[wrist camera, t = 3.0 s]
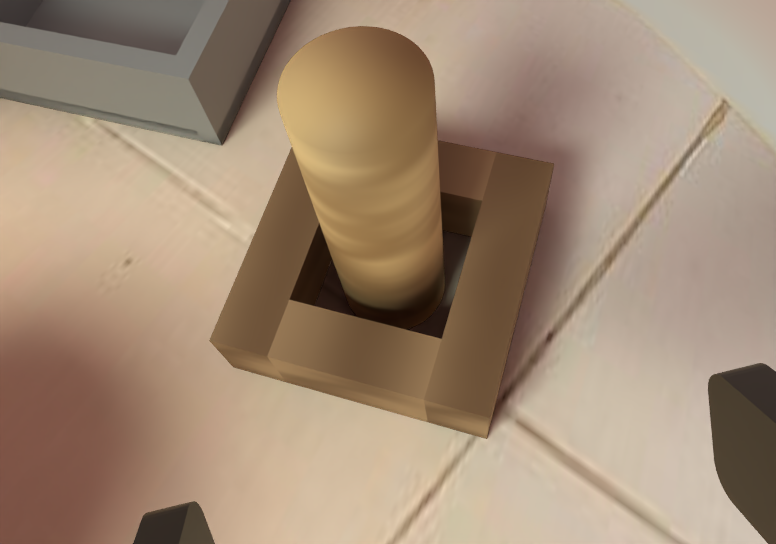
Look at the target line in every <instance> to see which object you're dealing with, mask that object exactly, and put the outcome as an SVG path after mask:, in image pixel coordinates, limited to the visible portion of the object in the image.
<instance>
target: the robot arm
mask: <svg viewBox="0 0 776 544" xmlns="http://www.w3.org/2000/svg"><path fill="white" fill-rule="evenodd" d="M708 394H709V406H710V417H711V429H712V440H713V452H714V461H715V467H716V471H717V474H718V477H719V480H720V482H721V484H722V486H723V489H724V490H725V492H726V494H727V496H728V497H729V499H730V500H731V501H732V503H733V504H734V505H735V506H736V507H737V508H738V510H739V511H740V512H741V513H742V514H743V515H744V517H745V518H746V519H747V520H748V521H749V522H750V523H751V525H752V526H753V527H754V528H755V529H756V530H757V531H758V533H759V534H760V535H761V536H762V537H763V538H764V539H765V541H766V542H767V543H768V544H776V372H775V371H774V370H773V369H772V368H770V367H769V366H767V365H766V364H763V363H758V364H754V365H750V366H746V367H742V368H738V369H734V370H730V371H726V372H722V373H718V374H714V375H712V376H711V377H710V379H709V383H708ZM133 544H215V543H214V540H213V538H212V535H211V532H210V530H209V527H208V524H207V522H206V519H205V516H204V514H203V511H202V509H201V507H200V506H199V504H198V503H197V502H195V501H194V502H189V503H185V504H181V505H177V506H173V507H169V508H165V509H161V510H157V511H153V512H148V513H146V514H145V515H144V516H143V518H142V520H141V523H140V526H139V529H138V531H137V534H136V537H135V540H134V543H133Z"/></svg>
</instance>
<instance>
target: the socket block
mask: <svg viewBox="0 0 776 544" xmlns="http://www.w3.org/2000/svg"><path fill="white" fill-rule="evenodd" d="M438 159H439V179H440V198H441V218H442V230H444V231H449V232H453V233H458V234H462V235H467V236H471V241H470V244H469V248H468V251H467V254H466V258H465V261H464V265H463V268H462V272H461V275H460V278H459V282H458V285H457V289H456V292H455V295H454V299H453V302H452V306H451V309H450V312H449V316H448V319H447V323H446V326H445V330H444V333H443V336H442V339H440V338H436V337H432V336H429V335H425V334H421V333H417V332H413V331H409V330H405V329H401V328H398V327H394V326H390V325H386V324H382V323H378V322H374V321H370V320H366V319H363V318H359V317H355V316H351V315H347V314H343V313H339V312H335V311H332V310H328V309H324V308H320V307H316V306H315V303H316V300H317V298H318V295H319V292H320V290H321V287H322V284H323V282H324V279H325V276H326V273H327V271H328V268H329V265H330V263H331V260H332V257H331V254H330V251H329V248H328V246H327V243H326V240H325V237H324V234H323V232H322V229H321V226H320V223H319V220H318V218H317V215H316V212H315V209H314V207H313V204H312V201H311V198H310V195H309V193H308V190H307V187H306V184H305V181H304V179H303V176H302V173H301V170H300V168H299V165H298V162H297V159H296V156H295V154H294V151H293V148H291V150H290V153H289V155H288V157H287V160H286V162H285V164H284V167H283V169H282V171H281V174H280V176H279V178H278V181H277V183H276V185H275V188H274V190H273V193H272V195H271V197H270V200H269V202H268V204H267V207H266V209H265V211H264V214H263V216H262V218H261V221H260V223H259V225H258V228H257V230H256V232H255V235H254V237H253V239H252V242H251V244H250V246H249V249H248V251H247V254H246V256H245V258H244V261H243V263H242V265H241V268H240V270H239V272H238V275H237V277H236V279H235V282H234V284H233V286H232V289H231V291H230V293H229V296H228V298H227V300H226V303H225V305H224V307H223V310H222V312H221V315H220V317H219V319H218V322H217V324H216V326H215V329H214V331H213V333H212V336H211V338H210V340H209V341H210V342H211V343H212V344H213V345H214V346H215V347H216V348H217V350H218V351H219V352H220V353H221V354H222V355H223V356H224V357H225V358H226V359H227V361H228V362H229V363H230V364H231V365H232V366H233V367H235V368H238V369H242V370H245V371H249V372H252V373H256V374H260V375H263V376H267V377H270V378H274V379H277V380H281V381H284V382H288V383H291V384H295V385H298V386H302V387H305V388H309V389H313V390H316V391H320V392H323V393H327V394H330V395H334V396H337V397H341V398H344V399H348V400H351V401H355V402H358V403H362V404H366V405H369V406H373V407H376V408H380V409H383V410H387V411H390V412H394V413H397V414H401V415H404V416H408V417H411V418H415V419H419V420H422V421H426V422H429V423H433V424H436V425H440V426H443V427H447V428H450V429H454V430H457V431H461V432H464V433H468V434H472V435H475V436H479V437H482V438H486V439H487V436H488V432H489V428H490V424H491V420H492V416H493V412H494V408H495V404H496V400H497V396H498V392H499V389H500V385H501V381H502V377H503V373H504V369H505V365H506V361H507V357H508V353H509V349H510V345H511V341H512V337H513V333H514V329H515V325H516V321H517V317H518V313H519V309H520V305H521V301H522V297H523V294H524V290H525V286H526V282H527V278H528V274H529V270H530V266H531V262H532V258H533V254H534V250H535V246H536V242H537V238H538V234H539V230H540V226H541V222H542V218H543V214H544V210H545V206H546V202H547V197H548V192H549V187H550V182H551V177H552V172H553V167H554V164H553V163H548V162H543V161H538V160H533V159H528V158H523V157H518V156H513V155H508V154H503V153H498V152H493V151H488V150H483V149H478V148H473V147H468V146H463V145H458V144H453V143H448V142H443V141H438Z"/></svg>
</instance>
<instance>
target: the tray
mask: <svg viewBox="0 0 776 544" xmlns="http://www.w3.org/2000/svg"><path fill="white" fill-rule="evenodd" d="M289 2H290V0H0V98H4V99H8V100H13V101H18V102H22V103H27V104H32V105H36V106H41V107H46V108H50V109H55V110H59V111H64V112H69V113H73V114H78V115H83V116H87V117H92V118H97V119H101V120H106V121H110V122H115V123H120V124H124V125H129V126H134V127H138V128H143V129H148V130H152V131H157V132H161V133H166V134H171V135H175V136H180V137H185V138H189V139H194V140H199V141H203V142H208V143H213V144H217V145H222V144H223V142H224V140H225V138H226V136H227V134H228V132H229V129H230V127H231V125H232V123H233V121H234V119H235V117H236V115H237V112H238V110H239V108H240V106H241V104H242V102H243V100H244V98H245V96H246V93H247V91H248V89H249V87H250V85H251V83H252V81H253V79H254V76H255V74H256V72H257V70H258V68H259V66H260V64H261V62H262V59H263V57H264V55H265V53H266V51H267V49H268V47H269V45H270V43H271V40H272V38H273V36H274V34H275V32H276V30H277V28H278V26H279V23H280V21H281V19H282V17H283V15H284V13H285V11H286V9H287V7H288V4H289Z"/></svg>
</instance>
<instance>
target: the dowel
mask: <svg viewBox="0 0 776 544" xmlns="http://www.w3.org/2000/svg"><path fill="white" fill-rule="evenodd" d="M277 103H278V108H279V111H280V115H281V117H282V120H283V123H284V126H285V129H286V131H287V134H288V137H289V140H290V143H291V145H292V148H293V151H294V154H295V156H296V159H297V162H298V165H299V168H300V170H301V173H302V176H303V179H304V181H305V184H306V187H307V190H308V193H309V195H310V198H311V201H312V204H313V207H314V209H315V212H316V215H317V218H318V220H319V223H320V226H321V229H322V232H323V234H324V237H325V240H326V243H327V246H328V248H329V251H330V254H331V257H332V259H333V262H334V265H335V268H336V271H337V273H338V276H339V279H340V282H341V285H342V287H343V290H344V293H345V296H346V298H347V301H348V303H349V306H350V307H351V309H352V311H353V312H354V313H355V314H356V315H357V317H359V318H363V319H366V320H370V321H374V322H378V323H382V324H386V325H390V326H394V327H398V328H401V329H408V328H411V327H414V326H416V325H418V324H420V323H421V322H423V321H425V320H426V319H427V318H428V317H430V316H431V315H432V313H433V312H434V311H435V310H436V309H437V307H438V305H439V304H440V302H441V299H442V297H443V293H444V288H445V277H444V257H443V238H442V218H441V198H440V179H439V159H438V140H437V120H436V100H435V82H434V74H433V70H432V67H431V64H430V62H429V60H428V58H427V57H426V55H425V54H424V52H423V51H422V50H421V49H420V48H419V47H418V46H417V45H416V44H415V43H414V42H412V41H411V40H409V39H408V38H406V37H405V36H402V35H400V34H398V33H396V32H393V31H390V30H387V29H383V28H378V27H367V26H358V27H348V28H343V29H339V30H335V31H332V32H329V33H326V34H324V35H321V36H319V37H318V38H316V39H314V40H312V41H311V42H309V43H308V44H306V45H305V46H303V47H302V48H301V49H300V50H299V51H298V52H297V53H296V54H295V55H294V56H293V57H292V58H291V59H290V61H289V62H288V63H287V65H286V66H285V68H284V70H283V72H282V74H281V77H280V80H279V83H278V88H277Z"/></svg>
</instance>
